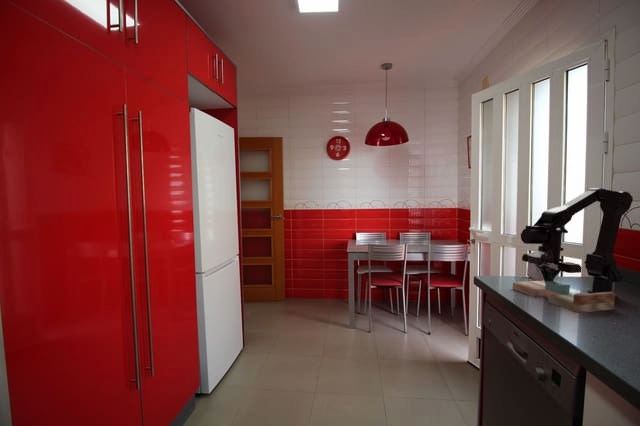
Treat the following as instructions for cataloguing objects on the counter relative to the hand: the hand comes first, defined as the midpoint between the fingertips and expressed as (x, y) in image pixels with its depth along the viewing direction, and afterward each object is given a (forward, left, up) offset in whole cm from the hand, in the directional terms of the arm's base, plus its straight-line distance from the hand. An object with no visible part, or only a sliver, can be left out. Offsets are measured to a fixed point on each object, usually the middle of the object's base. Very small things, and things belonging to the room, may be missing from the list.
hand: (547, 284), depth 113 cm
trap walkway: (0, +4, -4) cm, 6 cm away
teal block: (0, +4, -1) cm, 4 cm away
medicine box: (-16, -18, -4) cm, 24 cm away
